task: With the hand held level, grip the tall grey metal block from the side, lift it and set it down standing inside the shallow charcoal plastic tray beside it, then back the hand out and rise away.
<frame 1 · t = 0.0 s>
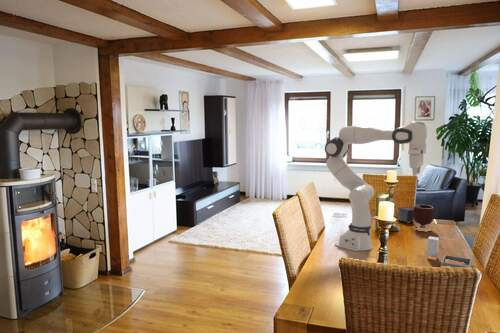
hand: (416, 174, 223), 48 cm above the table, tool pointing down, fingers open, 8 cm apart
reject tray: (456, 266, 212), on the table
metal block: (432, 258, 225), on the table
mate gourd: (421, 230, 284), on the table
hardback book: (383, 227, 291), on the table
small box: (405, 221, 307), on the table
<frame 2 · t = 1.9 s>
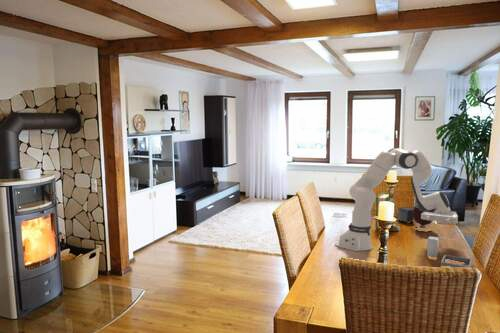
hand: (437, 220, 233), 20 cm above the table, tool horizontal, fingers open, 8 cm apart
nothing on the table moved.
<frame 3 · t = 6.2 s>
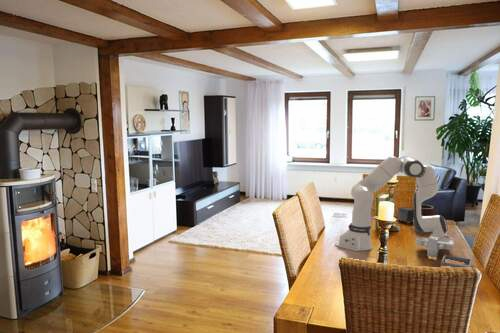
hand: (432, 246, 223), 7 cm above the table, tool horizontal, fingers closed on metal block, 5 cm apart
metal block: (432, 258, 225), on the table, touching gripper
everything else where it was.
when the fingers open (9 cm above the table, at t = 11.1 s): metal block drops 1 cm, resting on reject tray.
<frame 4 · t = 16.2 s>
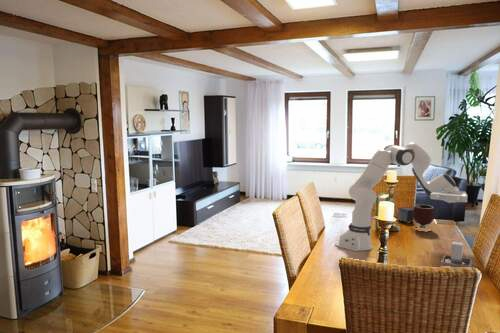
hand: (447, 199, 233), 32 cm above the table, tool horizontal, fingers open, 8 cm apart
metal block: (456, 264, 212), point 1 cm above the table, touching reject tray
everything else where it was.
at the end: metal block inside the target area on the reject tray (0.1 cm from its centre), point 1.0 cm above the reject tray's base; metal block tilted 0°; the gripper is holding nothing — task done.
